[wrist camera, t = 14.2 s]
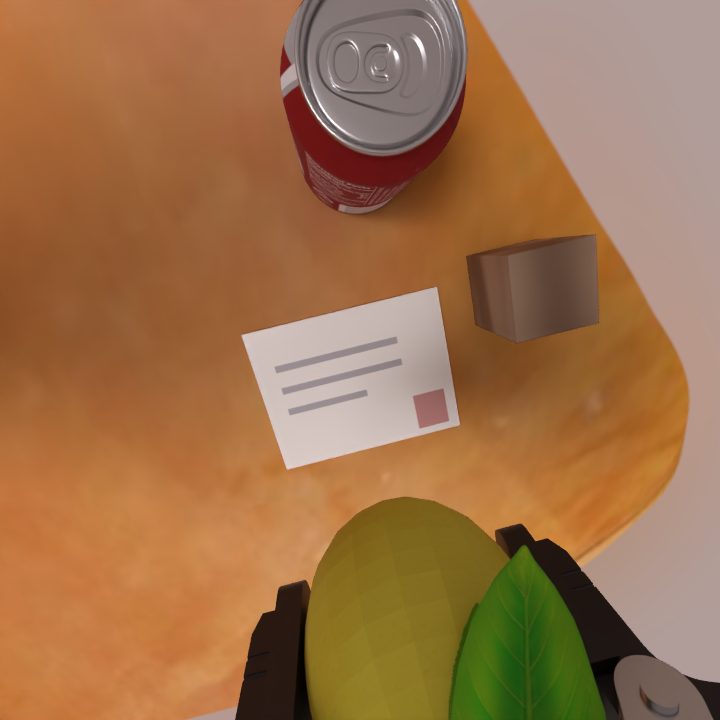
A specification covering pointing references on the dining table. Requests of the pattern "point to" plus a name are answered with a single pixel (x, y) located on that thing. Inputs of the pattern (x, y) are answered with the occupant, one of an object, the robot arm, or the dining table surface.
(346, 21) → the soda can
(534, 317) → the walnut block
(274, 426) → the letter
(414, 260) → the dining table surface
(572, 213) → the dining table surface
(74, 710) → the dining table surface
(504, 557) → the lemon
